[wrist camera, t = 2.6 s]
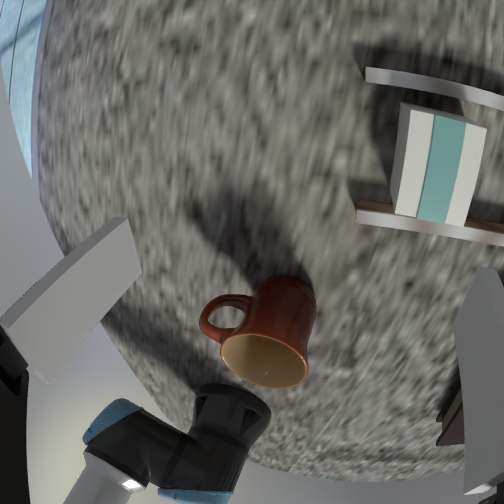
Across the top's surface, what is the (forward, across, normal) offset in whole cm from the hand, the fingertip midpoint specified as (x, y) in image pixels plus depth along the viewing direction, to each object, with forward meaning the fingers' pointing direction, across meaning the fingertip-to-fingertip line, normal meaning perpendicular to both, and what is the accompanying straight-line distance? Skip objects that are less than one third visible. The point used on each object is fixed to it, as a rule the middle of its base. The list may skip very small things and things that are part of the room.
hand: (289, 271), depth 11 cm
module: (+19, +8, 0) cm, 21 cm away
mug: (+19, -5, -18) cm, 27 cm away
